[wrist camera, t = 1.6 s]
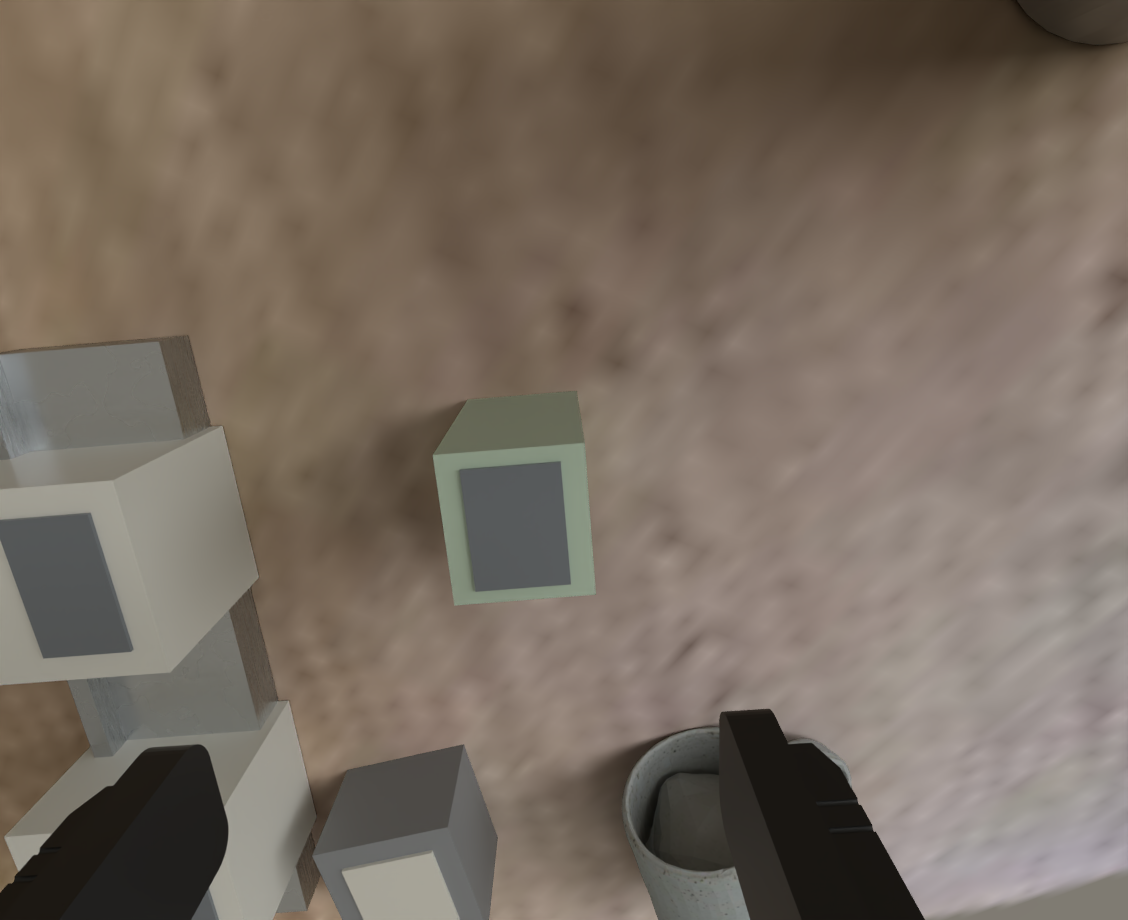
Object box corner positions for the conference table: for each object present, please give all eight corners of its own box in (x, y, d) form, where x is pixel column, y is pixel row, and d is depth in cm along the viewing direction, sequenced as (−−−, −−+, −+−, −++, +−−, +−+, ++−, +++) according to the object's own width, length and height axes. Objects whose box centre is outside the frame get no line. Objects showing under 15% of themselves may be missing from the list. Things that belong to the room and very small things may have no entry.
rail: (187, 335, 26) (142, 345, 23) (321, 874, 34) (299, 930, 31) (19, 349, 26) (-47, 360, 23) (192, 883, 34) (159, 940, 31)
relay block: (464, 742, 32) (447, 830, 27) (497, 835, 34) (487, 933, 29) (348, 768, 32) (310, 859, 28) (387, 858, 34) (358, 959, 29)
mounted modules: (222, 425, 27) (109, 481, 20) (316, 816, 33) (254, 962, 26) (32, 441, 27) (-144, 501, 20) (160, 828, 33) (58, 975, 26)
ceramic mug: (653, 869, 34) (683, 1035, 27) (611, 747, 32) (631, 892, 25) (850, 818, 34) (936, 972, 26) (822, 689, 31) (907, 820, 24)
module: (576, 390, 27) (584, 444, 19) (584, 504, 28) (596, 597, 21) (467, 399, 27) (431, 456, 19) (481, 512, 28) (453, 607, 21)
